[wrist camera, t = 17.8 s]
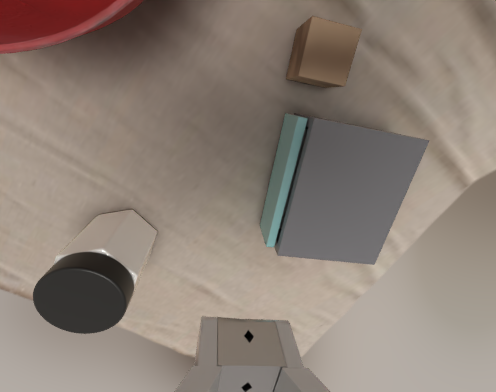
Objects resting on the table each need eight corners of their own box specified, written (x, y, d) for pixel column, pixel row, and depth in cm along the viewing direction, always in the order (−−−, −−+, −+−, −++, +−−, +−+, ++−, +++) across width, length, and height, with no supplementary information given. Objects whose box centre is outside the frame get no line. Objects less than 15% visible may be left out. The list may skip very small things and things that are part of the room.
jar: (77, 232, 33) (6, 300, 22) (120, 196, 32) (68, 248, 21) (129, 272, 36) (89, 348, 25) (170, 240, 35) (147, 307, 24)
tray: (285, 113, 30) (298, 116, 25) (377, 131, 32) (406, 137, 27) (259, 225, 36) (266, 246, 31) (339, 234, 38) (358, 255, 33)
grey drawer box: (294, 113, 30) (314, 117, 24) (387, 131, 33) (429, 140, 26) (267, 226, 36) (277, 255, 30) (348, 236, 38) (374, 264, 32)
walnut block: (296, 29, 27) (312, 15, 22) (338, 40, 28) (361, 29, 23) (285, 79, 29) (298, 75, 24) (325, 87, 30) (344, 86, 25)
